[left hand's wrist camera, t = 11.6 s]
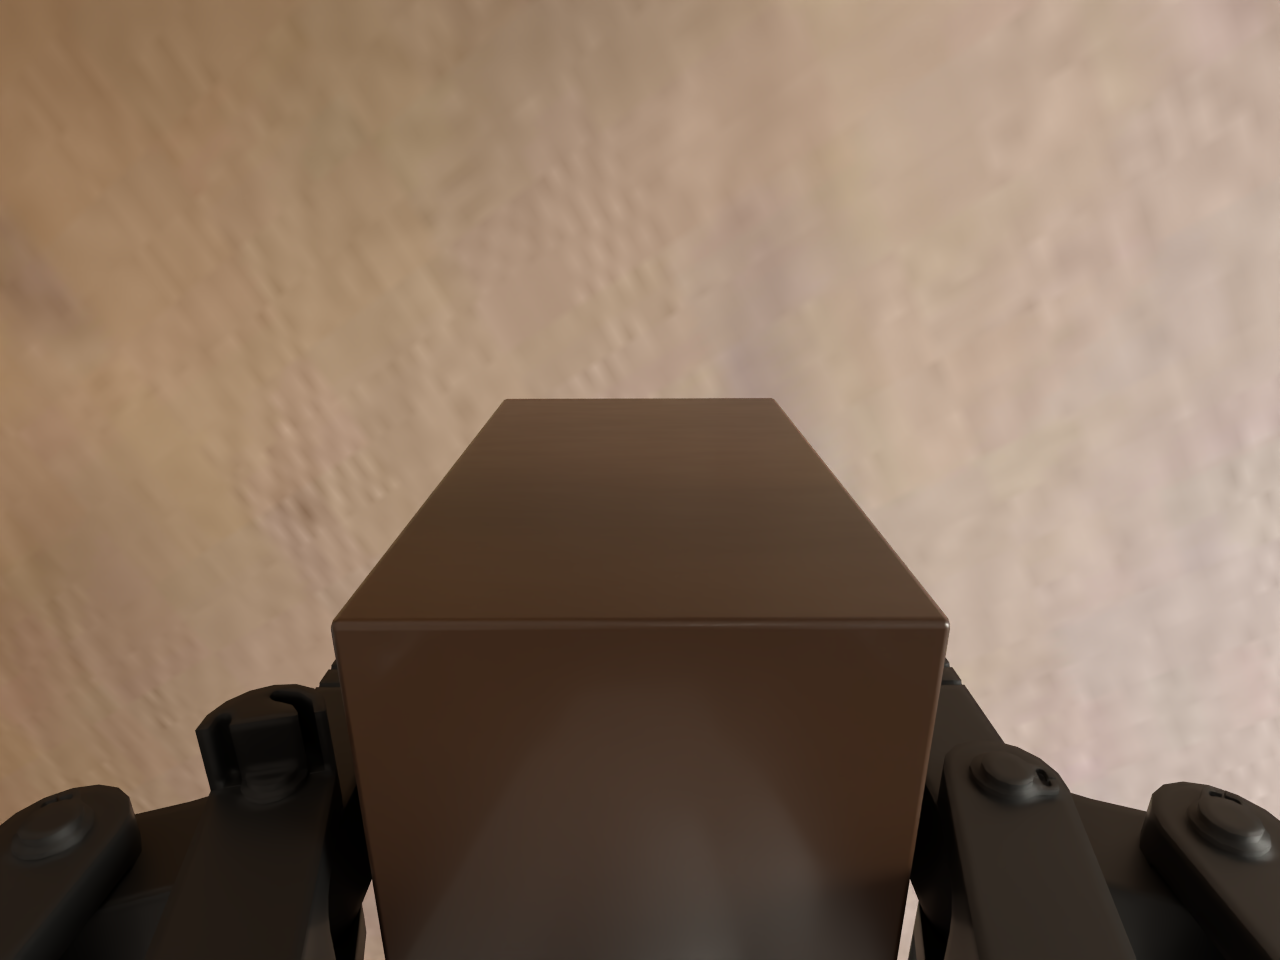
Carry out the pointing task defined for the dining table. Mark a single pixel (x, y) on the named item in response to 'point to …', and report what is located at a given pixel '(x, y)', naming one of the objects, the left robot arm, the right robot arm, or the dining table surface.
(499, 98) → the dining table surface
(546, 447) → the beam
